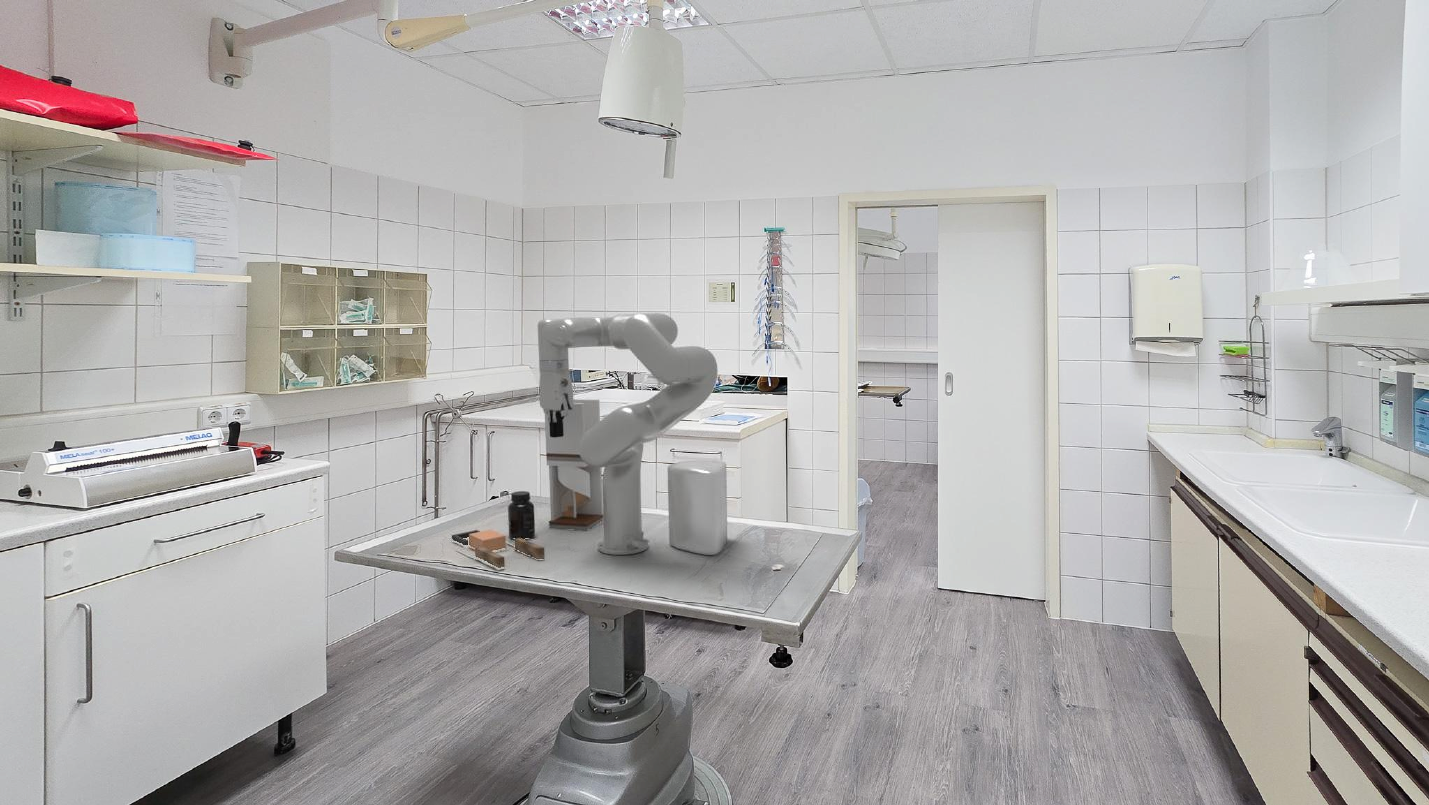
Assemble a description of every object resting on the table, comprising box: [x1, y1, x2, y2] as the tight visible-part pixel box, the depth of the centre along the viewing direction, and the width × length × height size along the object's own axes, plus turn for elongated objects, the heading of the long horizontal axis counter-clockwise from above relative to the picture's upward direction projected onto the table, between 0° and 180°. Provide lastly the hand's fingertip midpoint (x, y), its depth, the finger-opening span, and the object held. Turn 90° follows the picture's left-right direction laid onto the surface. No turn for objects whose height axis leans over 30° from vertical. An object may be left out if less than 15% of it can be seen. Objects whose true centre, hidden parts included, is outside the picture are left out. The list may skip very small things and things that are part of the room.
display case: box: [544, 398, 604, 532], centre depth 220 cm, size 11×11×35 cm
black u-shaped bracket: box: [451, 529, 481, 545], centre depth 207 cm, size 8×7×2 cm
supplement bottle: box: [507, 490, 536, 539], centre depth 210 cm, size 7×7×12 cm
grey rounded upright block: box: [667, 459, 728, 556], centre depth 198 cm, size 15×14×22 cm
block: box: [469, 529, 507, 551], centre depth 200 cm, size 8×6×4 cm
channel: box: [474, 538, 546, 568], centre depth 191 cm, size 12×12×3 cm
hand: (556, 436), depth 207 cm, fingers closed
